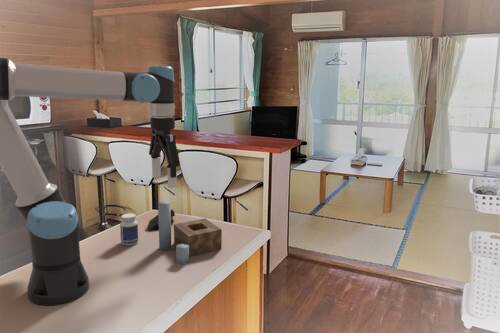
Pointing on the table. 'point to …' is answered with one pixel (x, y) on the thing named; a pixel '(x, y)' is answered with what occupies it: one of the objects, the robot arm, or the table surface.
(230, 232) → the table surface
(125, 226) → the pill bottle
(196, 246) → the sleeve block
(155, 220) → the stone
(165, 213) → the long dowel
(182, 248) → the grey rounded cylinder
